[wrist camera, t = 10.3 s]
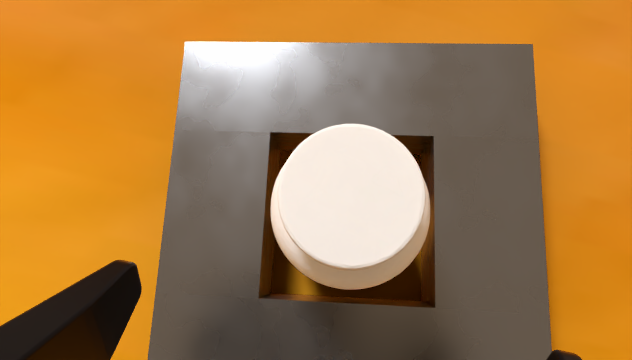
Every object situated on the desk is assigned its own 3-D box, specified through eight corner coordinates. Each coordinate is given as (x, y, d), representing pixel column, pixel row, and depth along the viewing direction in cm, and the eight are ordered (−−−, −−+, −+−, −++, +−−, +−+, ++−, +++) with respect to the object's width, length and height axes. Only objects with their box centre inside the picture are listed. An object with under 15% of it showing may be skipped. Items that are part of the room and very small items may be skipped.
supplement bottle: (420, 199, 20) (486, 144, 11) (375, 300, 20) (405, 337, 10) (322, 155, 21) (304, 68, 12) (275, 251, 20) (215, 242, 11)
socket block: (522, 409, 18) (557, 437, 15) (172, 384, 19) (142, 406, 16) (506, 74, 21) (532, 44, 18) (206, 70, 22) (185, 41, 20)
